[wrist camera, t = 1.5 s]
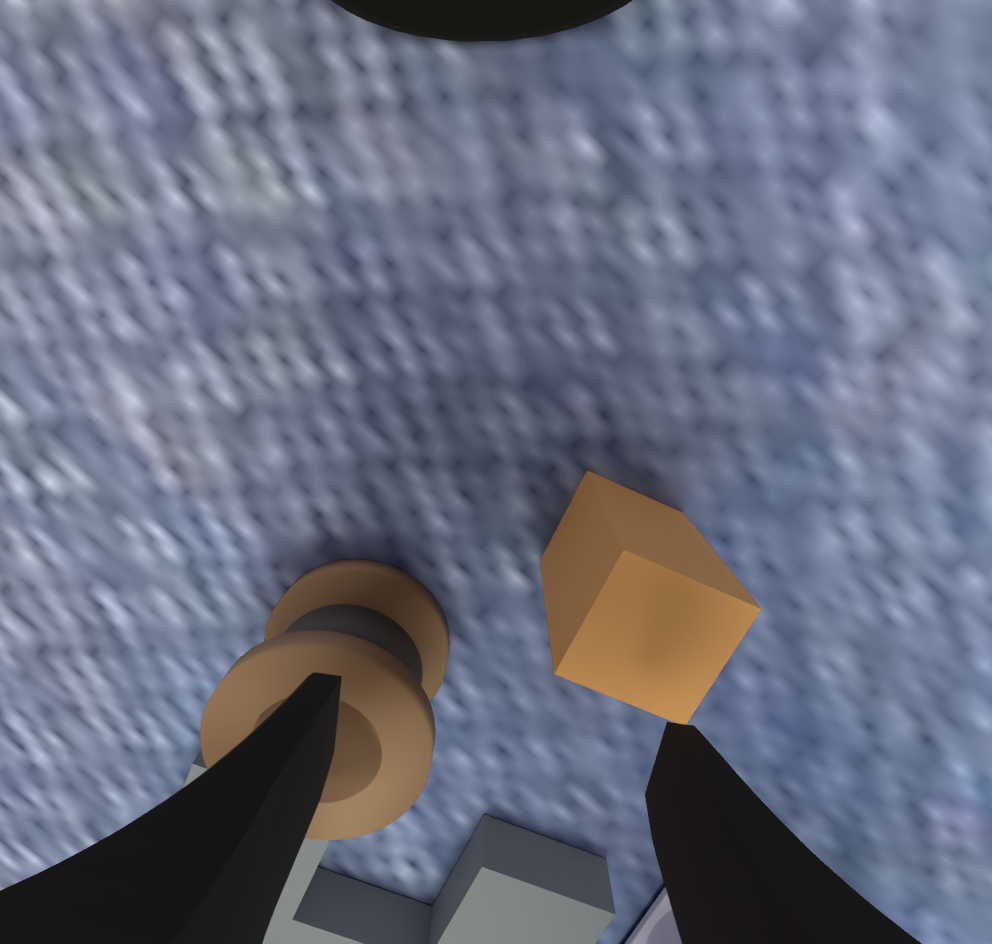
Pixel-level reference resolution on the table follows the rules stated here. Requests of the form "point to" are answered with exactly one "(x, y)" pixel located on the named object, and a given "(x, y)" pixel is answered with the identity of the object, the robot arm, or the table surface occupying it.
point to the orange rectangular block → (639, 601)
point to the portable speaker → (480, 16)
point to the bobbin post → (347, 687)
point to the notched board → (452, 896)
